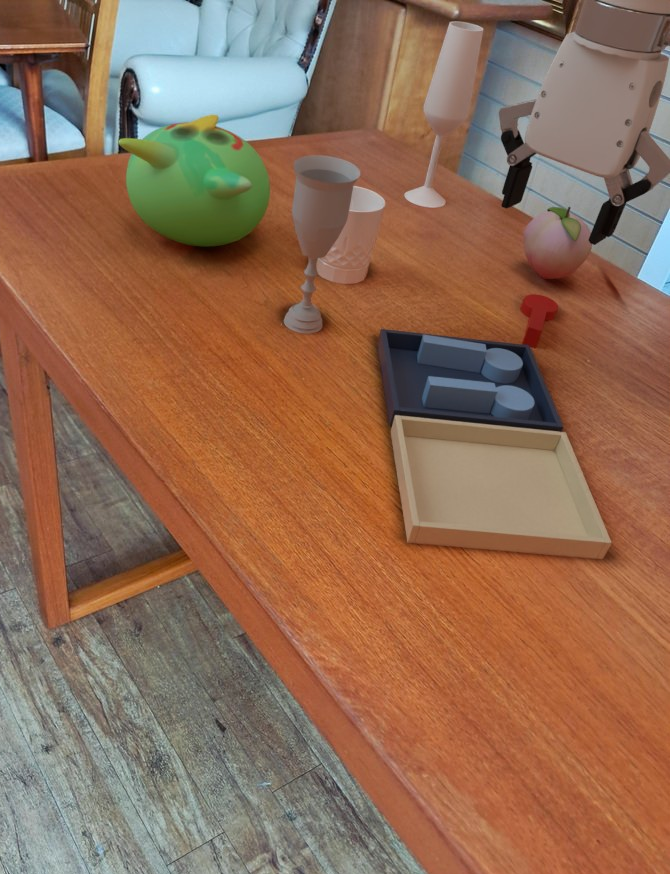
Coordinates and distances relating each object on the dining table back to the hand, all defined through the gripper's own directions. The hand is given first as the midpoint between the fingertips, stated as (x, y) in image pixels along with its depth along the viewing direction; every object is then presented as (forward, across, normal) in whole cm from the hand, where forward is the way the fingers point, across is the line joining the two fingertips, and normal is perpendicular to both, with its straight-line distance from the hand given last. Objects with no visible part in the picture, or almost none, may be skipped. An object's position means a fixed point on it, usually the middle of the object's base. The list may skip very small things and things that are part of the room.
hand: (552, 222), depth 79 cm
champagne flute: (+17, +33, -34) cm, 50 cm away
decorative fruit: (+17, +7, -25) cm, 32 cm away
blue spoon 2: (+16, -3, +10) cm, 20 cm away
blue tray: (+17, 0, +9) cm, 19 cm away
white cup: (+17, +25, -2) cm, 31 cm away
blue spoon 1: (+16, +2, +4) cm, 17 cm away
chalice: (+17, +20, +12) cm, 29 cm away
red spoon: (+17, +2, -12) cm, 21 cm away
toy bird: (+17, +43, +7) cm, 47 cm away
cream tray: (+17, -10, +21) cm, 29 cm away
